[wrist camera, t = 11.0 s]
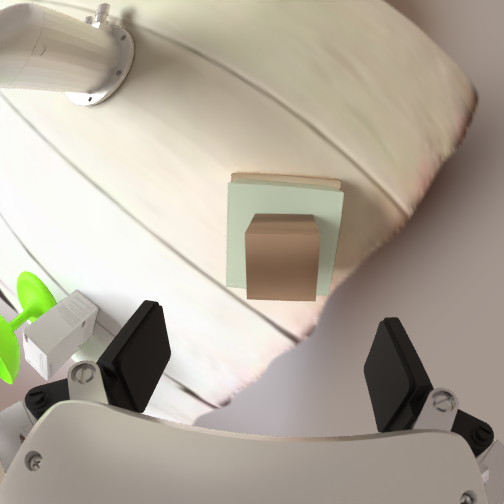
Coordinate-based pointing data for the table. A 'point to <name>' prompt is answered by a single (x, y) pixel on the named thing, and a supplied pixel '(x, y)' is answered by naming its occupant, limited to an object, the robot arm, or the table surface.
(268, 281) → the walnut block
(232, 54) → the table surface
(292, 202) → the block top
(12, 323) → the wineglass
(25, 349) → the skincare box
